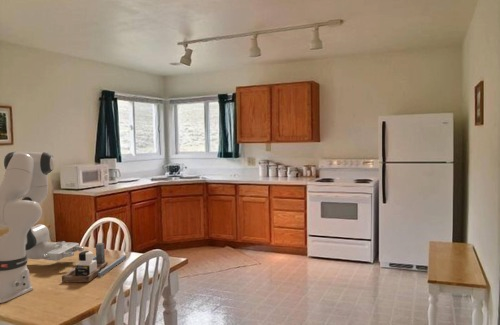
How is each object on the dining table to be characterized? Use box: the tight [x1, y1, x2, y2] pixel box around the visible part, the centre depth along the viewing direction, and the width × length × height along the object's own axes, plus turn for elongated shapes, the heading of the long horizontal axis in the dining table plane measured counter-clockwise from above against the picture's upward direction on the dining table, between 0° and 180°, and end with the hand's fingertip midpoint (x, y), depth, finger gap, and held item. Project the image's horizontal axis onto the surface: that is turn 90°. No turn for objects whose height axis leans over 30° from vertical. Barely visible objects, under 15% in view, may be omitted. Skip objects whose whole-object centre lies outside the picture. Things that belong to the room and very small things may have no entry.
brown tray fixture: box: [61, 242, 109, 283], centre depth 190 cm, size 26×12×11 cm, turn 174°
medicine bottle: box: [74, 250, 97, 276], centre depth 184 cm, size 7×7×12 cm
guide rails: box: [68, 254, 127, 278], centre depth 200 cm, size 29×16×2 cm, turn 174°
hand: (78, 251), depth 202 cm, fingers open, 8 cm apart
